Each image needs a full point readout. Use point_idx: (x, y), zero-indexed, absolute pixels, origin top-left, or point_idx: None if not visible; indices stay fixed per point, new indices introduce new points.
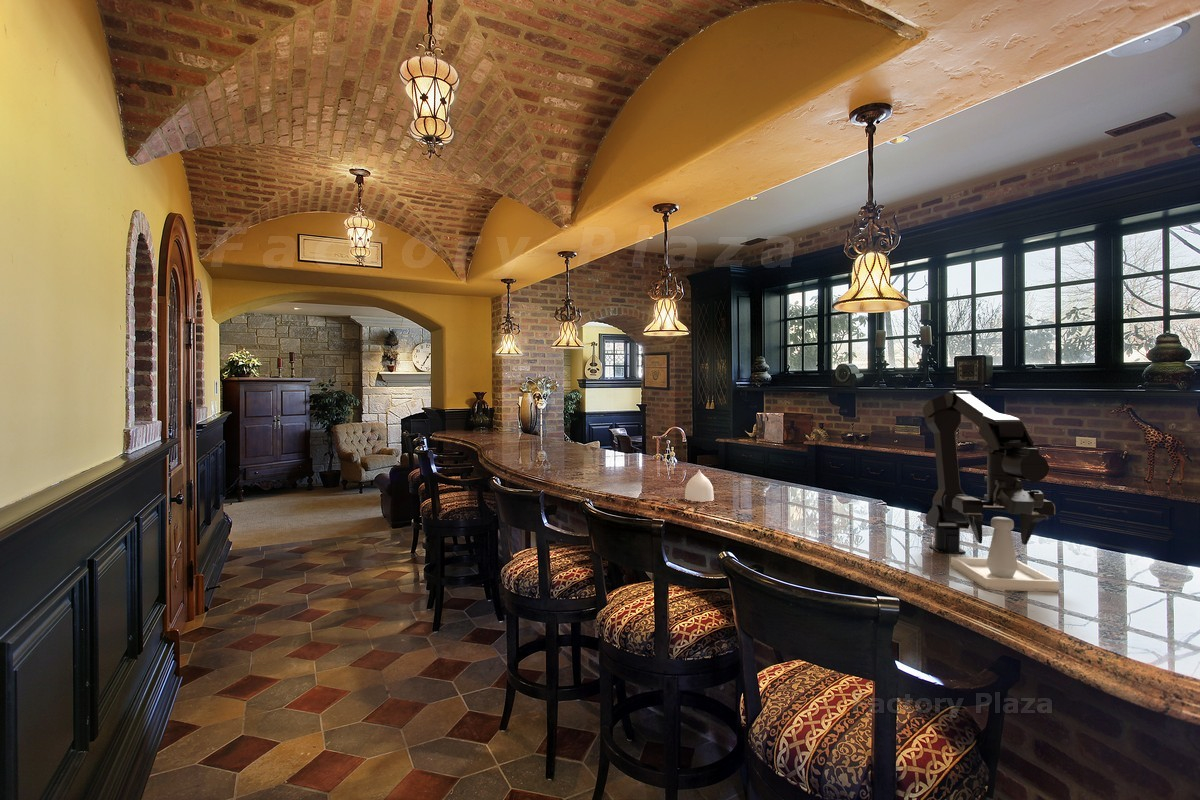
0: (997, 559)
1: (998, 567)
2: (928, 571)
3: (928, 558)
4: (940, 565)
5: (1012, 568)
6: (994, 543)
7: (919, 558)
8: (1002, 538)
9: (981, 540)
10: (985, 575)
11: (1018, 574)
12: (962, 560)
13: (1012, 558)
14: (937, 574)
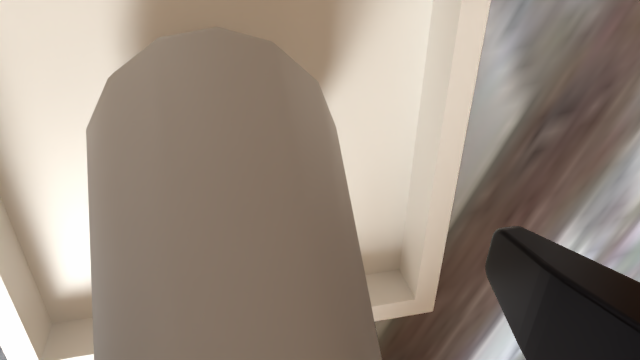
0: (307, 101)
1: (289, 59)
2: (594, 151)
3: (450, 354)
4: (460, 268)
5: (168, 41)
6: (352, 248)
7: (492, 343)
8: (299, 271)
9: (528, 246)
10: (337, 87)
11: (70, 163)
12: (376, 294)
13: (159, 91)
14: (584, 104)
